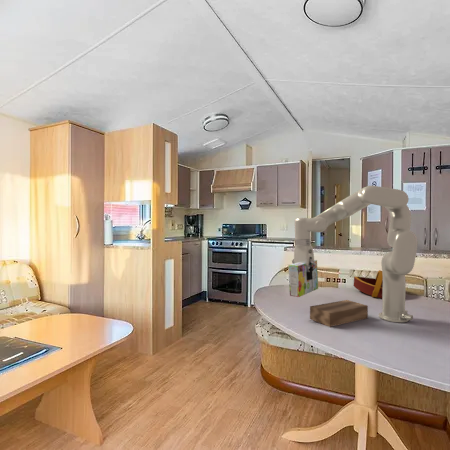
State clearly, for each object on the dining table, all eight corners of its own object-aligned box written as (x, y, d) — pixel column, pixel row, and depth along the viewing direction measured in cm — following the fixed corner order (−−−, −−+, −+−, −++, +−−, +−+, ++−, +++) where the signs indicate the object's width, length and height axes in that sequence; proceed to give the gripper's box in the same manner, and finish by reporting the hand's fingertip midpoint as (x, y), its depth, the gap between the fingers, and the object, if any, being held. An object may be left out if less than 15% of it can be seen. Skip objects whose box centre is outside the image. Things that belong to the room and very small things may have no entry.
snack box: (308, 287, 163) (307, 259, 163) (318, 289, 160) (318, 260, 159) (288, 295, 147) (288, 264, 147) (299, 297, 144) (298, 265, 143)
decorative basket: (401, 306, 176) (406, 280, 175) (348, 292, 191) (352, 268, 190) (402, 294, 205) (406, 272, 204) (356, 283, 220) (359, 262, 219)
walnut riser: (367, 318, 147) (367, 305, 147) (329, 326, 135) (329, 313, 135) (346, 311, 157) (347, 299, 157) (310, 319, 146) (310, 306, 145)
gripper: (321, 243, 147) (322, 280, 147) (296, 241, 163) (297, 275, 163) (309, 244, 144) (310, 282, 144) (285, 242, 159) (286, 276, 159)
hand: (304, 278), depth 153 cm, fingers closed on snack box, 7 cm apart
